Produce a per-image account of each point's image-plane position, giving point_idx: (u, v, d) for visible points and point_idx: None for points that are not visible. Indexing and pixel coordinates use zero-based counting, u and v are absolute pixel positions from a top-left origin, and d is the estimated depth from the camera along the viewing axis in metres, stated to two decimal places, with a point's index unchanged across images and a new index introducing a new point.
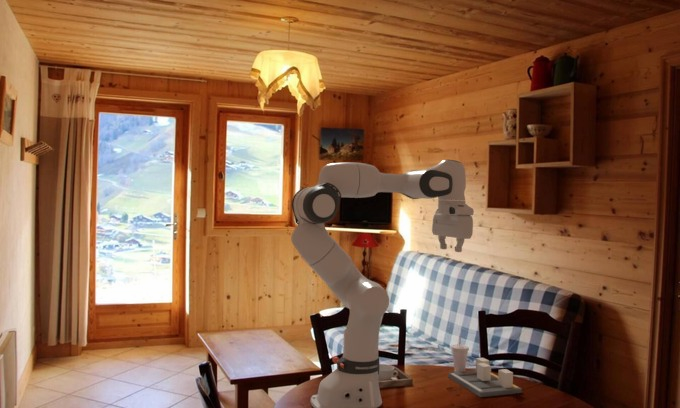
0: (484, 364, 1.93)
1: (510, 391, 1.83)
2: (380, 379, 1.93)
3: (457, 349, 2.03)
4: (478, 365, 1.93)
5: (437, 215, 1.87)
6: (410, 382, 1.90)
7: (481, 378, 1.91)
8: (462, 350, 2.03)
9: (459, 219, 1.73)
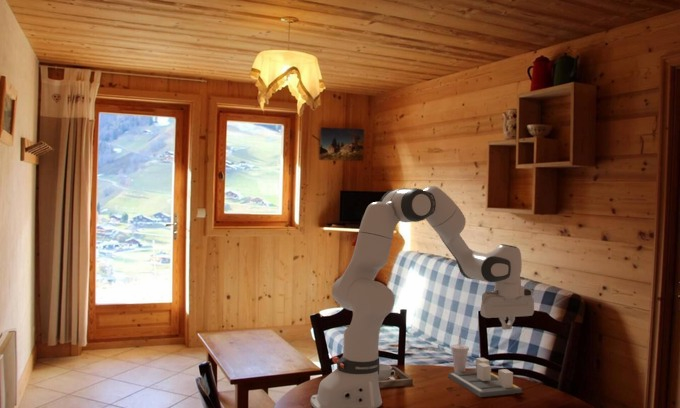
0: (484, 364, 1.93)
1: (510, 391, 1.83)
2: None
3: (457, 349, 2.03)
4: (478, 365, 1.93)
5: (495, 298, 1.91)
6: (410, 382, 1.90)
7: (481, 378, 1.91)
8: (462, 350, 2.03)
9: (532, 299, 1.95)
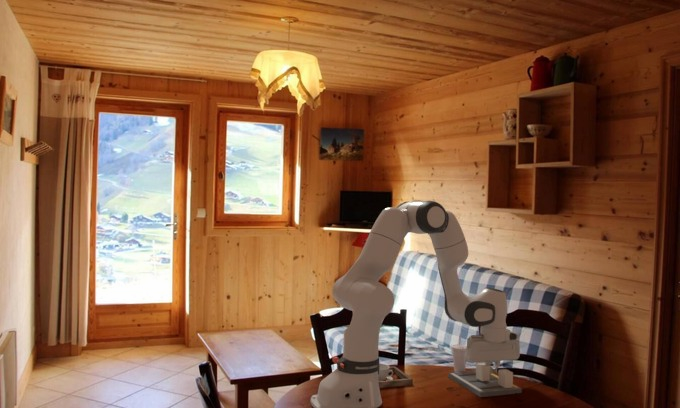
0: (483, 364, 1.92)
1: (510, 391, 1.83)
2: None
3: (457, 349, 2.03)
4: (477, 365, 1.93)
5: (480, 342, 1.89)
6: (410, 382, 1.90)
7: (480, 378, 1.91)
8: (462, 350, 2.03)
9: (518, 343, 1.94)
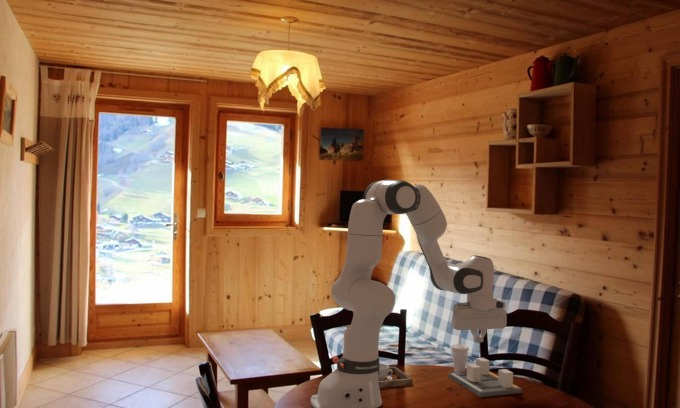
0: (474, 365, 1.91)
1: (510, 391, 1.83)
2: None
3: (457, 349, 2.03)
4: (468, 366, 1.92)
5: (466, 310, 1.88)
6: (410, 382, 1.90)
7: (471, 379, 1.90)
8: (462, 350, 2.03)
9: (505, 311, 1.92)
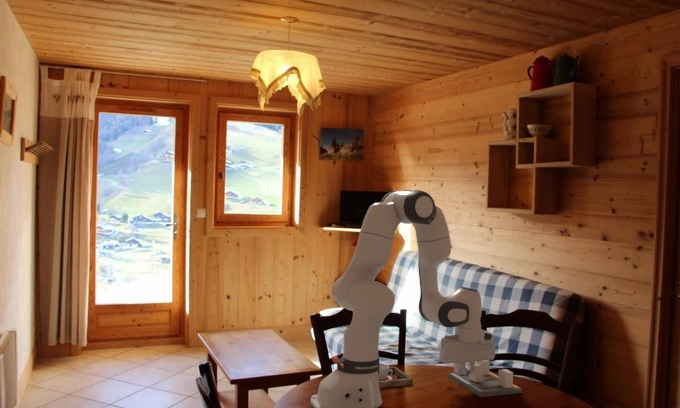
0: (476, 365, 1.92)
1: (510, 391, 1.83)
2: None
3: None
4: None
5: (454, 343, 1.86)
6: (410, 382, 1.90)
7: (473, 379, 1.90)
8: None
9: (493, 343, 1.91)
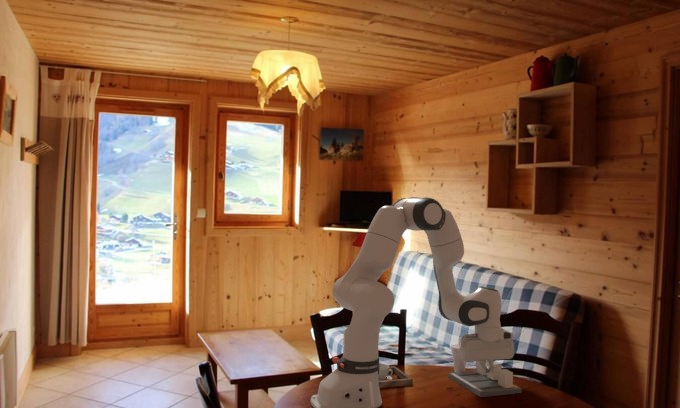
0: (494, 363, 1.94)
1: (510, 391, 1.83)
2: None
3: (457, 349, 2.03)
4: None
5: (474, 342, 1.89)
6: (410, 382, 1.90)
7: (492, 377, 1.92)
8: None
9: (512, 342, 1.93)
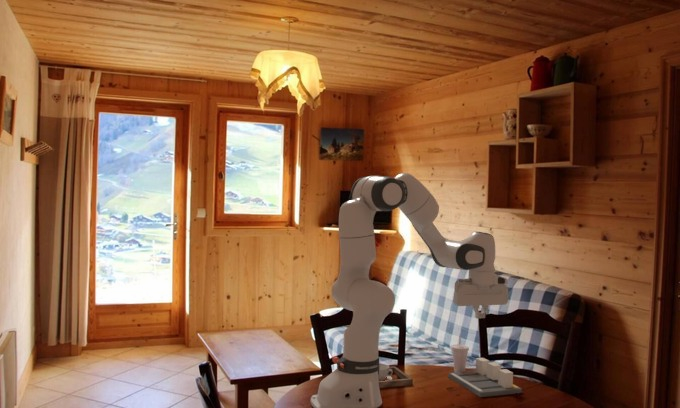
0: (494, 363, 1.94)
1: (510, 391, 1.83)
2: None
3: (457, 349, 2.03)
4: (488, 364, 1.94)
5: (468, 286, 1.88)
6: (410, 382, 1.90)
7: (491, 377, 1.92)
8: (462, 350, 2.03)
9: (507, 287, 1.92)
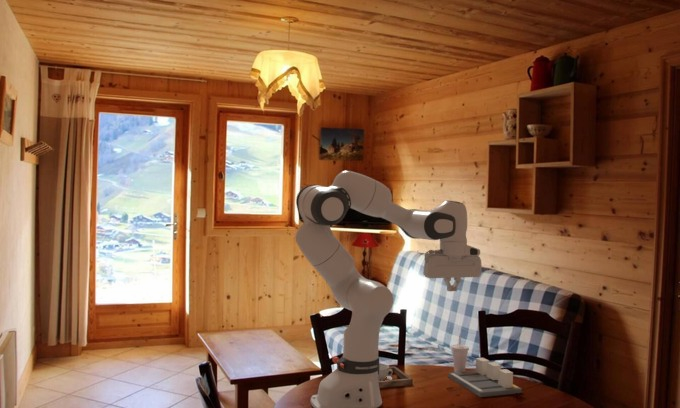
0: (494, 363, 1.94)
1: (510, 391, 1.83)
2: None
3: (457, 349, 2.03)
4: (488, 364, 1.94)
5: (439, 257, 1.79)
6: (410, 382, 1.90)
7: (491, 377, 1.92)
8: (462, 350, 2.03)
9: (480, 259, 1.83)
